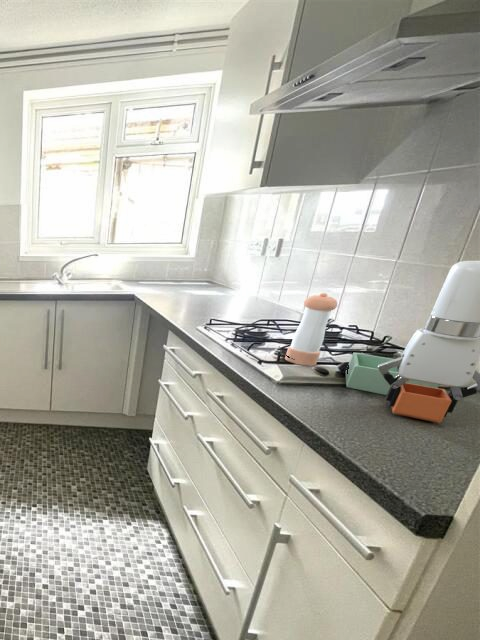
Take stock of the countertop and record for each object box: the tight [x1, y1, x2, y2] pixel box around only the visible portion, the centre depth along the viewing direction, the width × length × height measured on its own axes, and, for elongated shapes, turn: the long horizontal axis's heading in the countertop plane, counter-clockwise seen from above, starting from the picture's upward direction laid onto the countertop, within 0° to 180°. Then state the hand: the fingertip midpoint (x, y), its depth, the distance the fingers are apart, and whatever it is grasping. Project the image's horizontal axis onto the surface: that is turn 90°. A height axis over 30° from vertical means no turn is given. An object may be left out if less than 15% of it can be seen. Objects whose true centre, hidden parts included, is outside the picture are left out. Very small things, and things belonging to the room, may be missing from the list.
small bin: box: [390, 383, 452, 424], centre depth 87 cm, size 7×7×5 cm
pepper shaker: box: [284, 292, 338, 367], centre depth 114 cm, size 7×7×19 cm
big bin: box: [345, 352, 440, 396], centre depth 100 cm, size 14×12×6 cm
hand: (415, 408), depth 88 cm, fingers closed on small bin, 7 cm apart
